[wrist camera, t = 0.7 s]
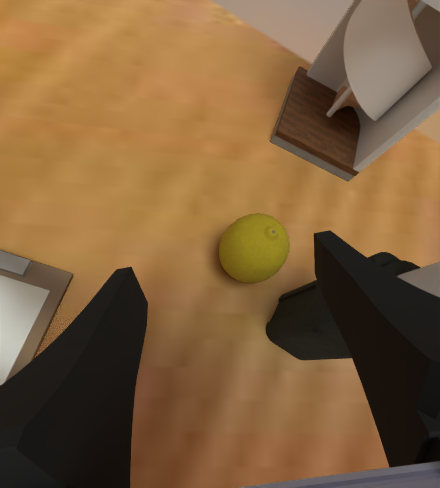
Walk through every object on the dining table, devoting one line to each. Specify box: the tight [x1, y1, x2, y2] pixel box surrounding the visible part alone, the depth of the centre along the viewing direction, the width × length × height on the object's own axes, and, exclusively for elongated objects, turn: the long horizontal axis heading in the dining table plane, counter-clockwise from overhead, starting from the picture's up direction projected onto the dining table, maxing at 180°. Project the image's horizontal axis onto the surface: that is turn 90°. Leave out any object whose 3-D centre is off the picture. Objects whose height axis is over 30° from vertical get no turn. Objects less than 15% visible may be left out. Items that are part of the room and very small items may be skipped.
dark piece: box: [266, 252, 440, 360], centre depth 20 cm, size 5×5×25 cm
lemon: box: [219, 213, 290, 283], centre depth 28 cm, size 6×6×8 cm
